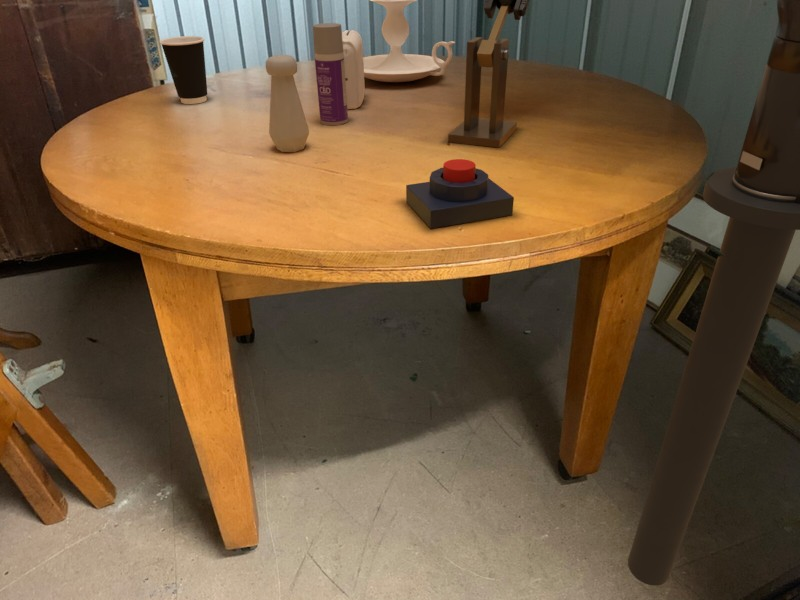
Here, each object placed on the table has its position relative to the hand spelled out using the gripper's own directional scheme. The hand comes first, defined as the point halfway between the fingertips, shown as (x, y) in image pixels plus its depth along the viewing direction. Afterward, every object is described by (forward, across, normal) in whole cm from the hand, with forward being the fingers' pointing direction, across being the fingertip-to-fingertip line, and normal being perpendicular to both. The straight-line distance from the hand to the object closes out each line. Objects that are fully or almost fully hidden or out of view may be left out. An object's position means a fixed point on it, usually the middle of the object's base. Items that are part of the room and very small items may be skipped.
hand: (502, 15), depth 90 cm
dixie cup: (+16, -58, +8) cm, 61 cm away
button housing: (+36, +6, -14) cm, 39 cm away
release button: (+33, +6, -17) cm, 38 cm away
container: (+18, -26, +5) cm, 32 cm away
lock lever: (+3, 0, +1) cm, 3 cm away
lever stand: (+17, 0, +6) cm, 18 cm away
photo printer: (+9, -29, +14) cm, 34 cm away
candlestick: (-4, -27, +29) cm, 40 cm away
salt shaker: (+28, -24, -5) cm, 38 cm away
